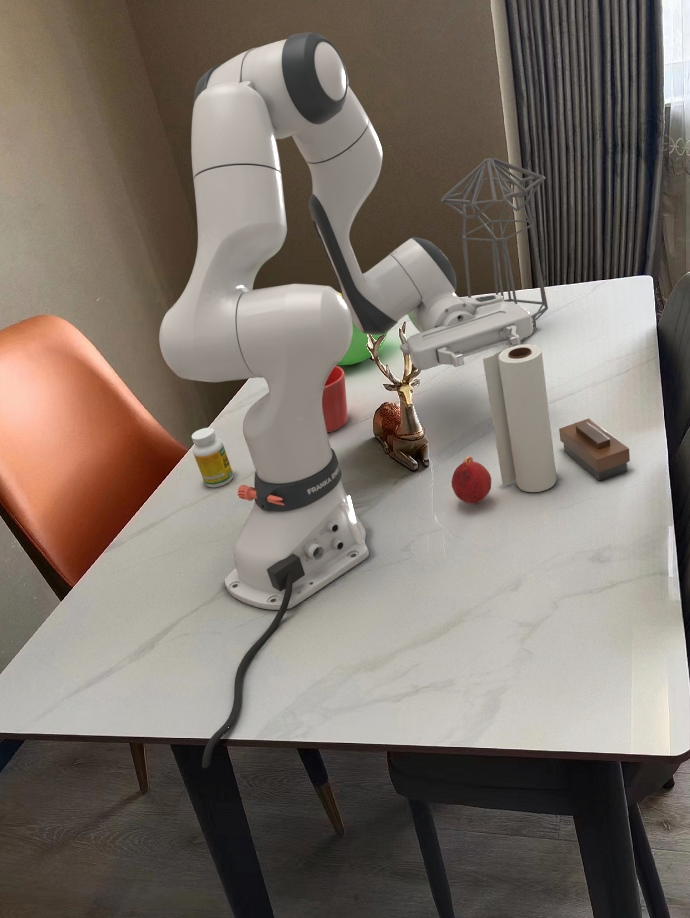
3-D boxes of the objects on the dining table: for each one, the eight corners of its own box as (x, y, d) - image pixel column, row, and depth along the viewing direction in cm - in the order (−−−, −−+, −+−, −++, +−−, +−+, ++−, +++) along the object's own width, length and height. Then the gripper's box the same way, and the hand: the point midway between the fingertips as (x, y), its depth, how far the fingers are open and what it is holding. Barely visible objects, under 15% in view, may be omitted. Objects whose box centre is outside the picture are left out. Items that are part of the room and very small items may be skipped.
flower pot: (331, 441, 156) (318, 393, 151) (288, 433, 163) (274, 387, 157) (366, 414, 162) (355, 367, 157) (324, 408, 169) (311, 362, 164)
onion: (483, 516, 126) (475, 470, 121) (449, 511, 129) (440, 465, 124) (500, 495, 129) (493, 449, 125) (467, 490, 132) (458, 445, 128)
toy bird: (353, 339, 196) (338, 277, 188) (413, 344, 187) (399, 278, 179) (303, 374, 186) (285, 309, 178) (364, 381, 176) (347, 312, 168)
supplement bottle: (204, 477, 155) (187, 431, 150) (233, 469, 155) (216, 422, 150) (205, 491, 150) (187, 443, 145) (235, 482, 151) (218, 435, 146)
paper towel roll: (564, 477, 130) (550, 345, 118) (542, 497, 127) (525, 363, 115) (525, 467, 135) (508, 339, 123) (502, 486, 131) (482, 357, 120)
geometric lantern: (460, 345, 181) (430, 172, 162) (505, 316, 189) (482, 148, 170) (520, 354, 170) (496, 170, 151) (565, 323, 178) (548, 145, 159)
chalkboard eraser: (561, 450, 136) (558, 422, 134) (590, 440, 137) (588, 412, 134) (599, 483, 127) (596, 453, 124) (630, 471, 127) (628, 442, 125)
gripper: (393, 327, 139) (420, 353, 128) (508, 291, 142) (545, 313, 131) (400, 363, 143) (428, 391, 131) (513, 327, 146) (549, 351, 134)
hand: (487, 352), depth 131 cm, fingers open, 8 cm apart
